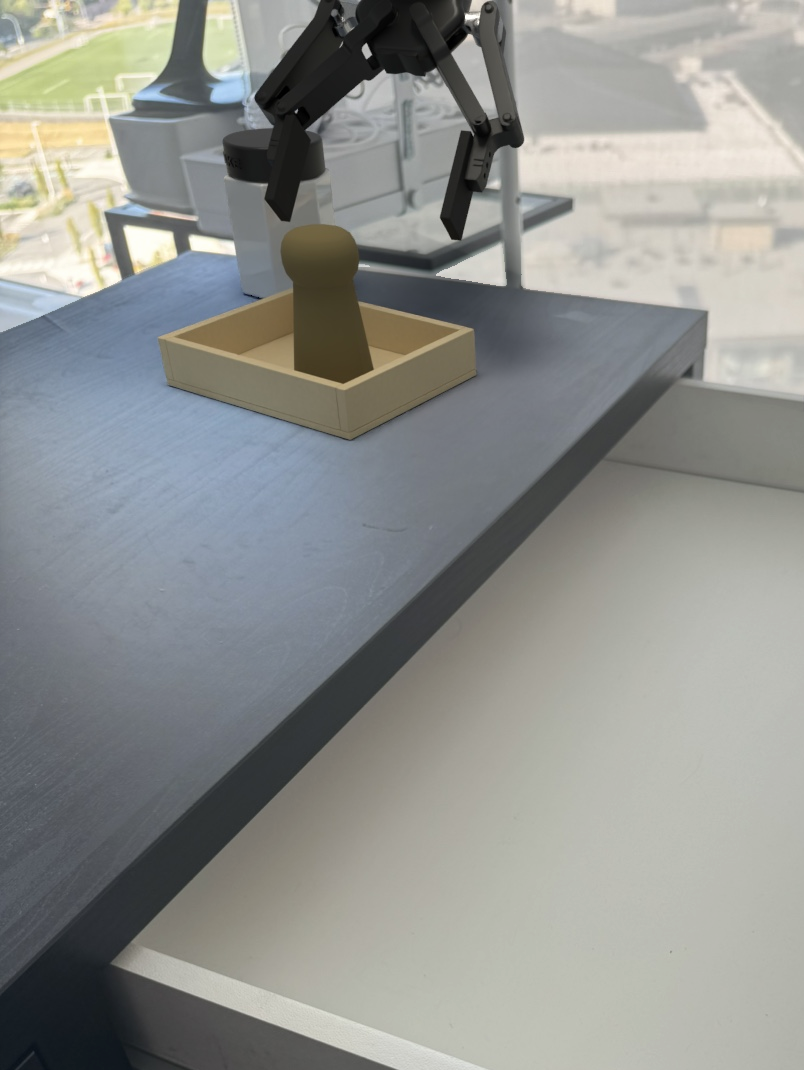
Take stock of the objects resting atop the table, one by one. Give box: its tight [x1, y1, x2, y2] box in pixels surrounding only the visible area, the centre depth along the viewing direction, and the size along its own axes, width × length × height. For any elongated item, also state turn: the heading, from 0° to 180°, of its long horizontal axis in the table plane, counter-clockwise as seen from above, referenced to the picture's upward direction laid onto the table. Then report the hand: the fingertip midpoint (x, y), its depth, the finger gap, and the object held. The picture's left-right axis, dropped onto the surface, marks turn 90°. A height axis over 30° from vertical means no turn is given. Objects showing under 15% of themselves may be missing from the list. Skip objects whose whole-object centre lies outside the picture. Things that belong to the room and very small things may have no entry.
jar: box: [222, 127, 337, 299], centre depth 100 cm, size 9×8×12 cm
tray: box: [157, 288, 477, 441], centre depth 86 cm, size 18×15×4 cm
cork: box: [280, 224, 374, 384], centre depth 81 cm, size 6×6×11 cm
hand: (362, 220), depth 84 cm, fingers open, 13 cm apart
